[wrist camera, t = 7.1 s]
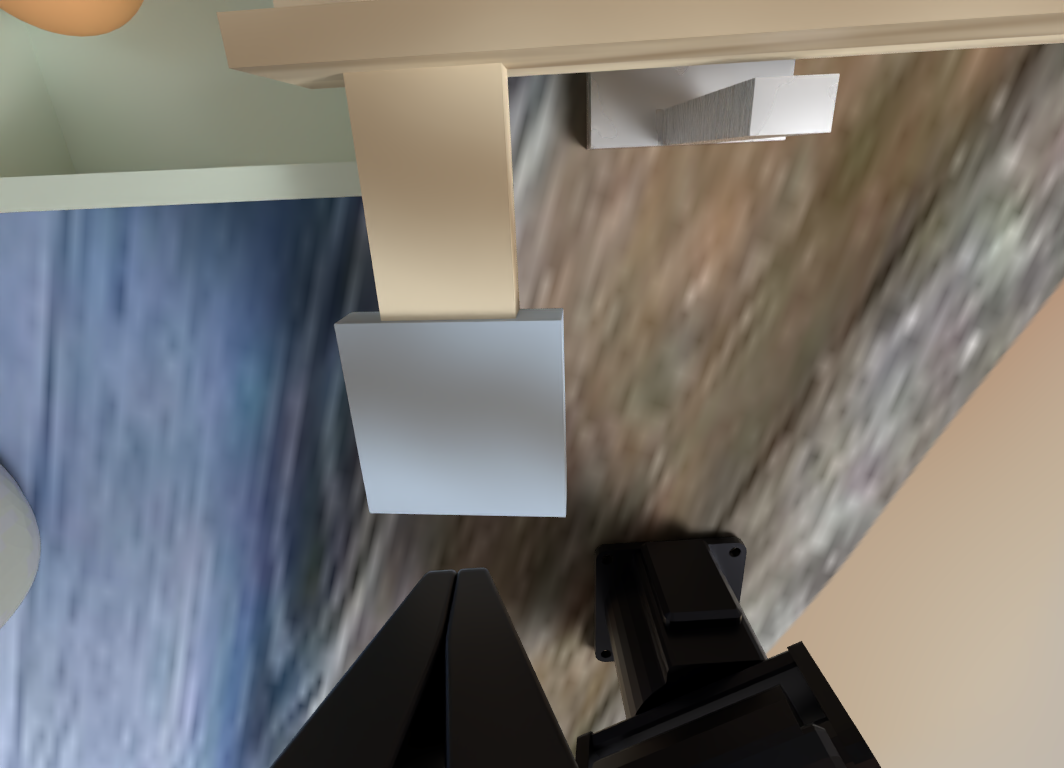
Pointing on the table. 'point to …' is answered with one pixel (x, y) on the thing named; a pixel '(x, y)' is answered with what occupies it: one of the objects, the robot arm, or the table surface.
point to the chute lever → (512, 198)
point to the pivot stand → (706, 104)
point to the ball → (73, 14)
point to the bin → (160, 118)
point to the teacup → (16, 546)
